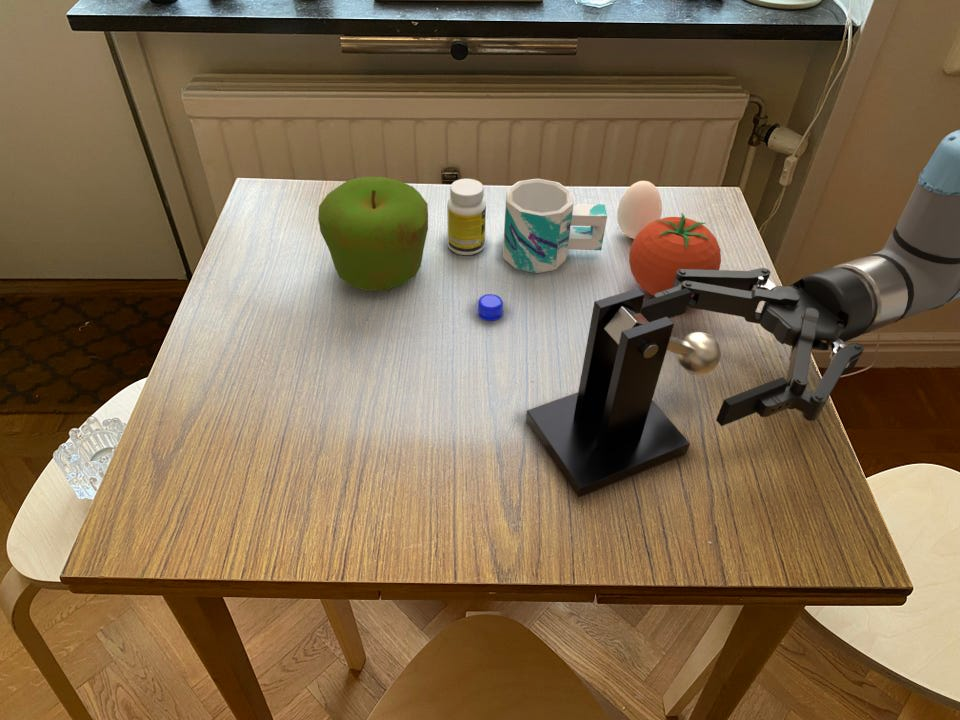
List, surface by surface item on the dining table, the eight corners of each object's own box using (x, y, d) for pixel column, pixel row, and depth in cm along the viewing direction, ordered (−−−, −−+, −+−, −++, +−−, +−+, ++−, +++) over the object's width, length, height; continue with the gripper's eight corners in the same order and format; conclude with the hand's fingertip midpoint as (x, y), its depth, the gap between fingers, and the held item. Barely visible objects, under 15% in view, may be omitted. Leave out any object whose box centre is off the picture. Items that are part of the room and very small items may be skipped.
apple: (314, 257, 87) (300, 176, 79) (405, 233, 92) (401, 153, 84) (349, 318, 80) (337, 234, 72) (447, 288, 84) (446, 206, 76)
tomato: (623, 314, 81) (639, 242, 74) (621, 261, 89) (636, 191, 82) (714, 322, 81) (738, 250, 74) (704, 268, 88) (726, 198, 81)
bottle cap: (489, 300, 82) (489, 289, 81) (508, 312, 81) (509, 300, 80) (471, 312, 81) (471, 300, 80) (491, 324, 79) (491, 313, 78)
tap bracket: (627, 383, 73) (657, 260, 62) (686, 453, 67) (732, 329, 56) (525, 420, 69) (538, 295, 58) (578, 498, 63) (604, 374, 52)
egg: (610, 223, 94) (620, 170, 89) (651, 224, 94) (663, 171, 89) (616, 248, 90) (626, 193, 85) (658, 249, 91) (672, 194, 85)
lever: (682, 359, 69) (709, 328, 68) (708, 386, 67) (737, 355, 65) (592, 329, 59) (621, 291, 58) (618, 359, 57) (650, 321, 55)
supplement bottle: (488, 254, 89) (490, 195, 83) (451, 258, 88) (451, 199, 82) (480, 232, 92) (482, 174, 86) (444, 236, 91) (443, 178, 86)
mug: (502, 233, 92) (506, 176, 86) (594, 236, 92) (604, 179, 86) (503, 272, 86) (507, 213, 80) (601, 275, 86) (612, 216, 80)
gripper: (929, 410, 67) (754, 488, 60) (750, 264, 82) (595, 312, 75) (970, 353, 61) (783, 431, 54) (770, 208, 77) (606, 255, 70)
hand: (674, 362), depth 65 cm, fingers open, 13 cm apart
